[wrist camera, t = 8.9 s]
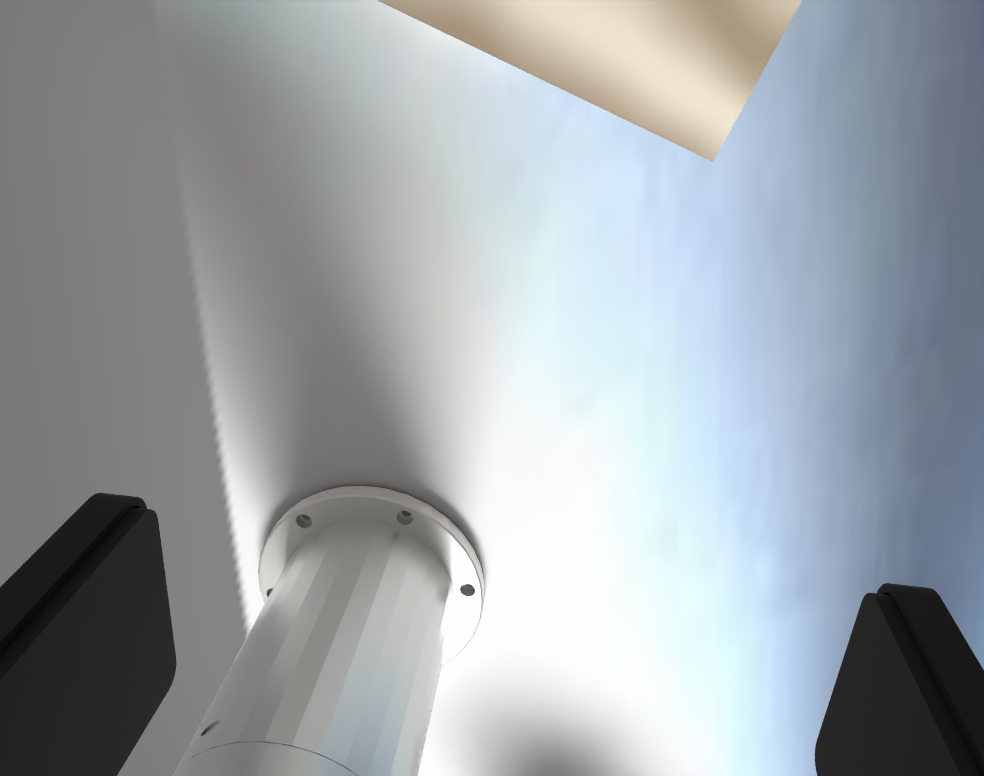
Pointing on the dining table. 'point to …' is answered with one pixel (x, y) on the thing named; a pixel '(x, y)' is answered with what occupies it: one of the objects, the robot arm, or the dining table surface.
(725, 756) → the dining table surface
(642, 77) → the wooden cutting board
